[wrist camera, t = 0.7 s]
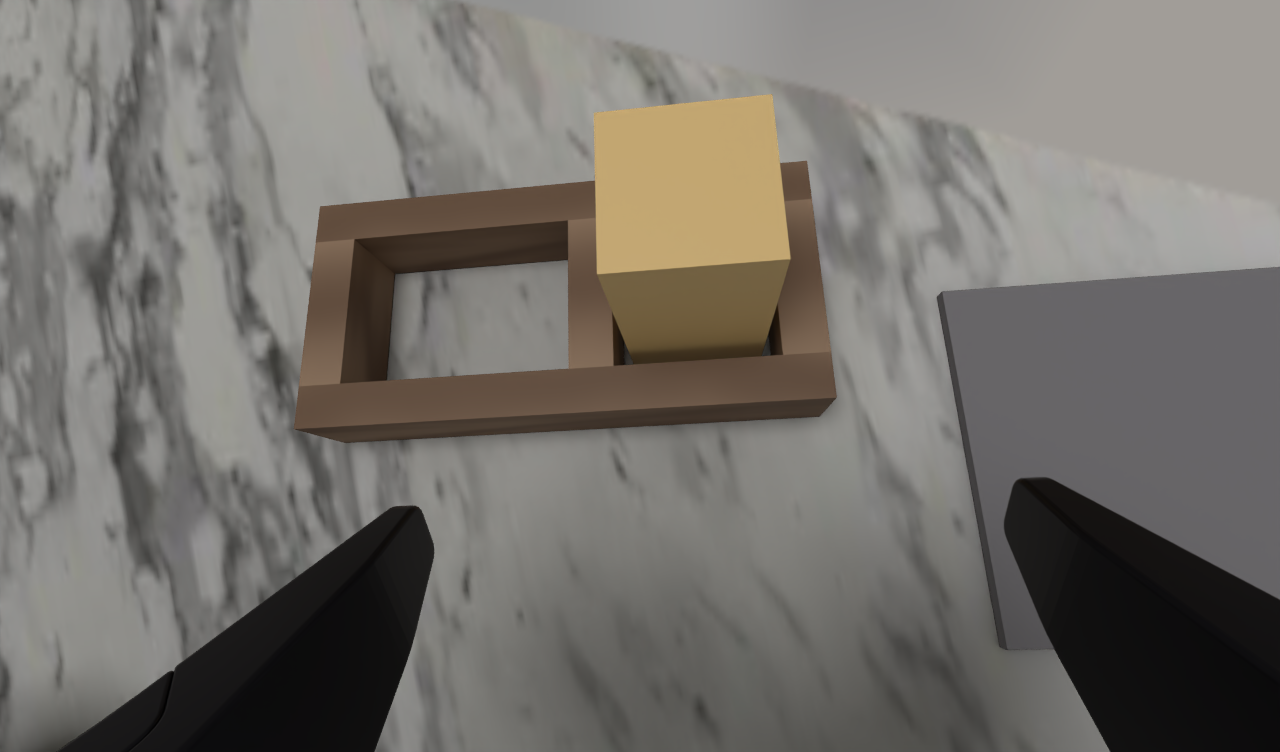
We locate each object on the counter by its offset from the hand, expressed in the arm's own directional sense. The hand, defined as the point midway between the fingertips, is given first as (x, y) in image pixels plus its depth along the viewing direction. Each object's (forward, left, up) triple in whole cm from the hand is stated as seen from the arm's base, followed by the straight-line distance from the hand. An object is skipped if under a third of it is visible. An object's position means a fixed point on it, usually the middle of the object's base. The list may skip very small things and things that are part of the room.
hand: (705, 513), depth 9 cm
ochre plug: (+8, 0, -12) cm, 15 cm away
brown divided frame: (+8, +5, -12) cm, 15 cm away
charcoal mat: (+2, -15, -12) cm, 20 cm away
